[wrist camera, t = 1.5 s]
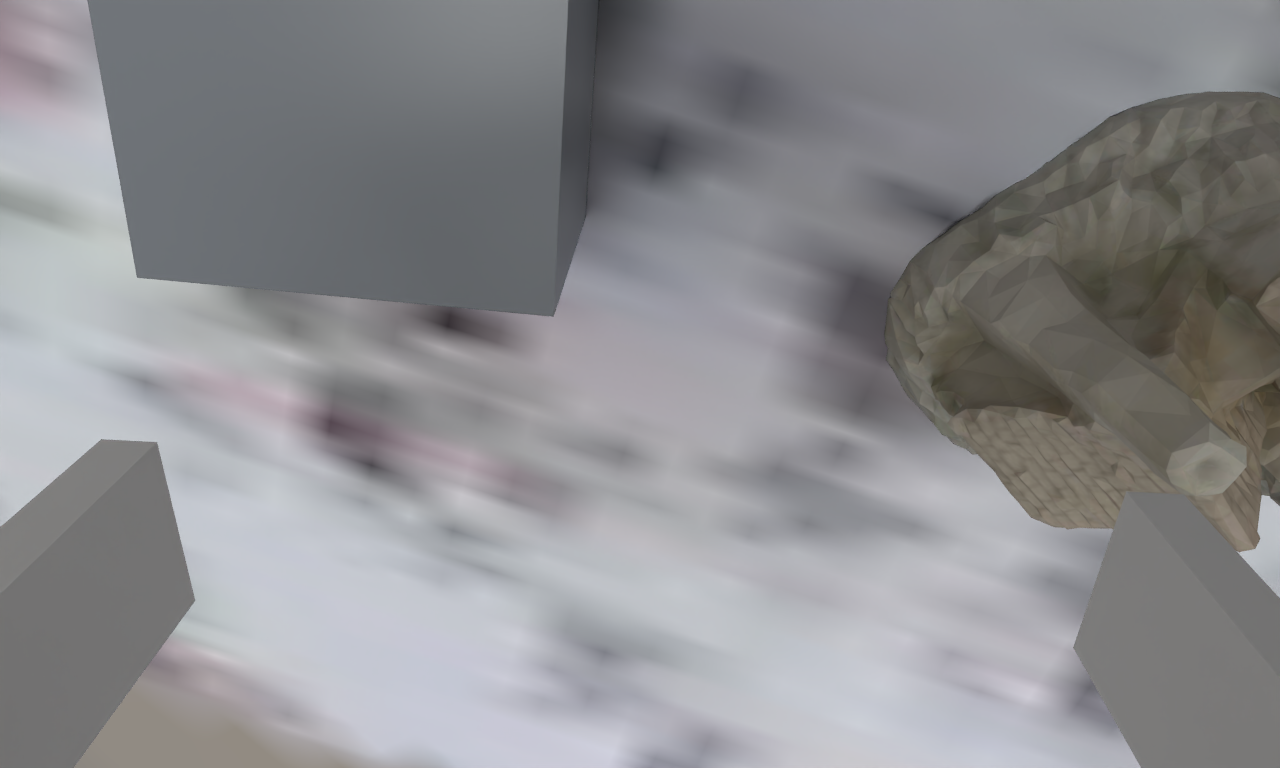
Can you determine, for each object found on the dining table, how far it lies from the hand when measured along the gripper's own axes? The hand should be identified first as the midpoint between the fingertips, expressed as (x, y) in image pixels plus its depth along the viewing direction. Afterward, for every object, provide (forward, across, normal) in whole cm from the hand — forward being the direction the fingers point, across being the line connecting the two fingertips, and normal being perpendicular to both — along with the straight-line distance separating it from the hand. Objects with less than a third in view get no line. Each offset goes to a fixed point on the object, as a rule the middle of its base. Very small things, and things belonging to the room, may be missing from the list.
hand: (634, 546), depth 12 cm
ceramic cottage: (+19, +17, -4) cm, 26 cm away
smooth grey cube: (+19, -7, +5) cm, 21 cm away
